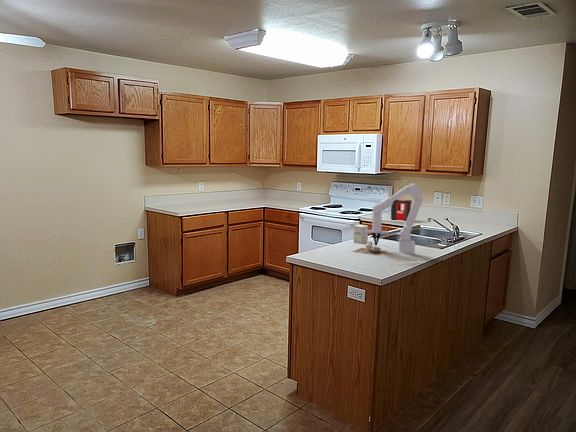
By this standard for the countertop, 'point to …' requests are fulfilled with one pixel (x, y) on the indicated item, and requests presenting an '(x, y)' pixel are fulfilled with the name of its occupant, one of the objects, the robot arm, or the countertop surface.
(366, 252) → the stand base
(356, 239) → the supplement box
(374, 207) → the robot arm
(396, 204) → the cleaning product box
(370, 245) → the capstan dial
